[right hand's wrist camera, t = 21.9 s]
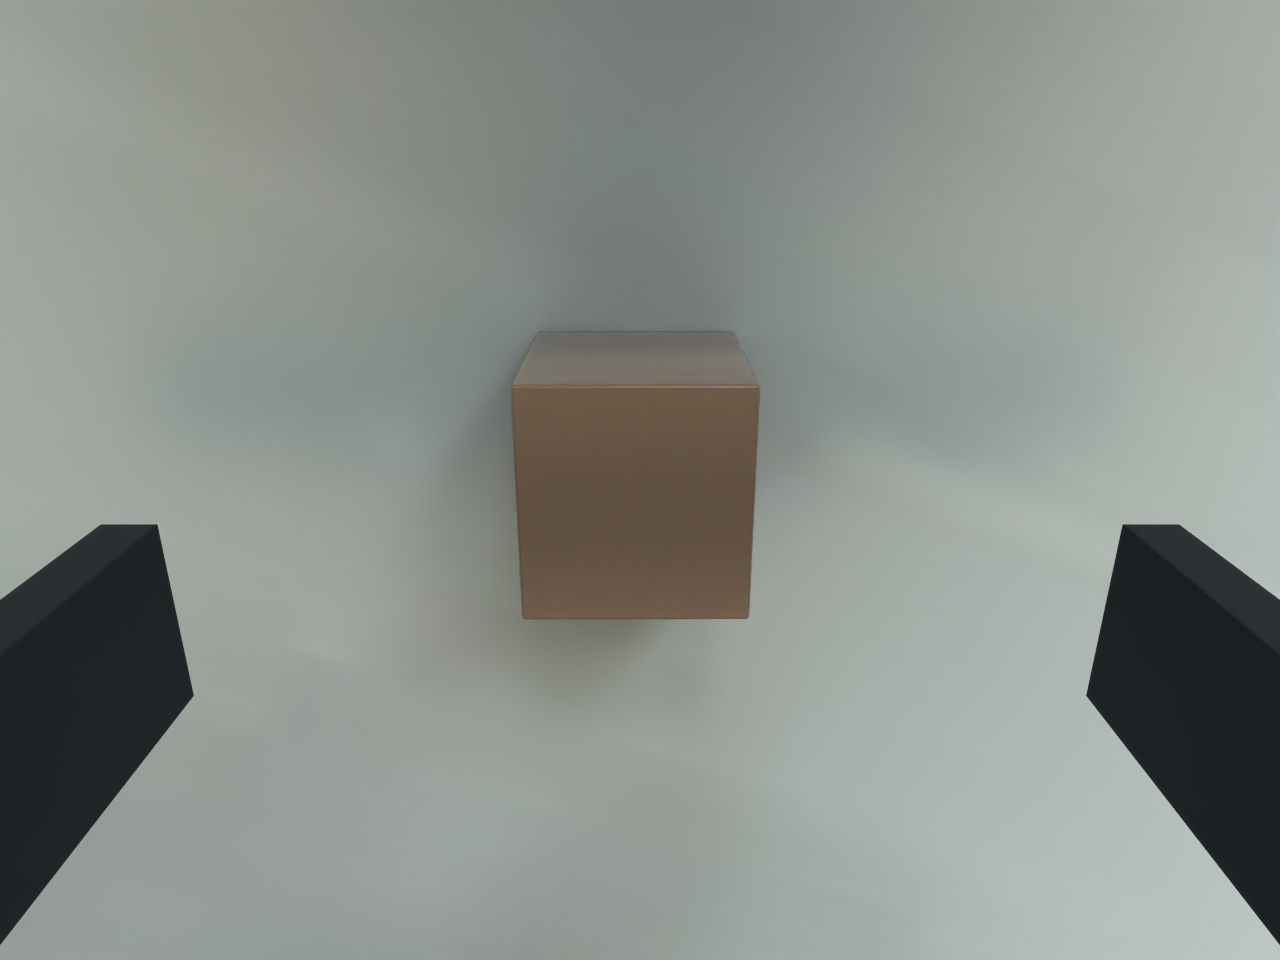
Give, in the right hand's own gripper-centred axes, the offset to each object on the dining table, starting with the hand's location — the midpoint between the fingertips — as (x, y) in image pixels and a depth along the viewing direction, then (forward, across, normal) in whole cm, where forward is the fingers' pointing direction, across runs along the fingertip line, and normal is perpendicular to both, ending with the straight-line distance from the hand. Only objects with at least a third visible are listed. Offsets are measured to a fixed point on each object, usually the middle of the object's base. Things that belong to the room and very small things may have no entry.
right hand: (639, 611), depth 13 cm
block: (+9, 0, 0) cm, 9 cm away
